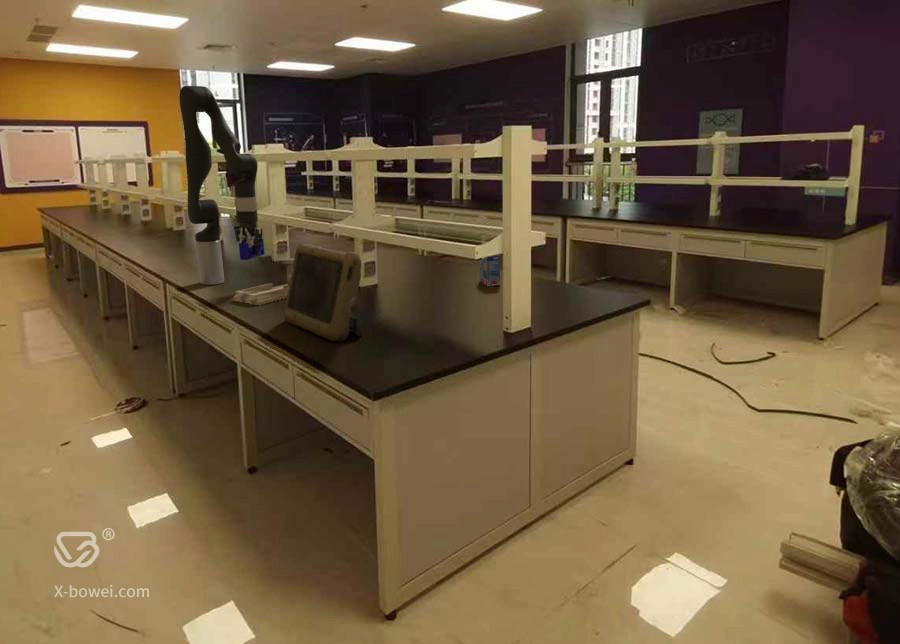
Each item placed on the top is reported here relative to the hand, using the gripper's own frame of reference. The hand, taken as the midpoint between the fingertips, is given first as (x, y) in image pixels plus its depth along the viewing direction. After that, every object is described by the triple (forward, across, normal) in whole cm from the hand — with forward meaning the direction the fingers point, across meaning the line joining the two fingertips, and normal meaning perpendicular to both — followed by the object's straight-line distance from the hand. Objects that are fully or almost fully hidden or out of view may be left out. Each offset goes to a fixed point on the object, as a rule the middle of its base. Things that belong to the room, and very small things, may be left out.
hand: (250, 254), depth 244 cm
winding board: (+14, +14, -1) cm, 20 cm away
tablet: (+13, +61, -22) cm, 66 cm away
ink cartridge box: (+13, +70, +59) cm, 93 cm away
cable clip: (+1, 0, 0) cm, 1 cm away
